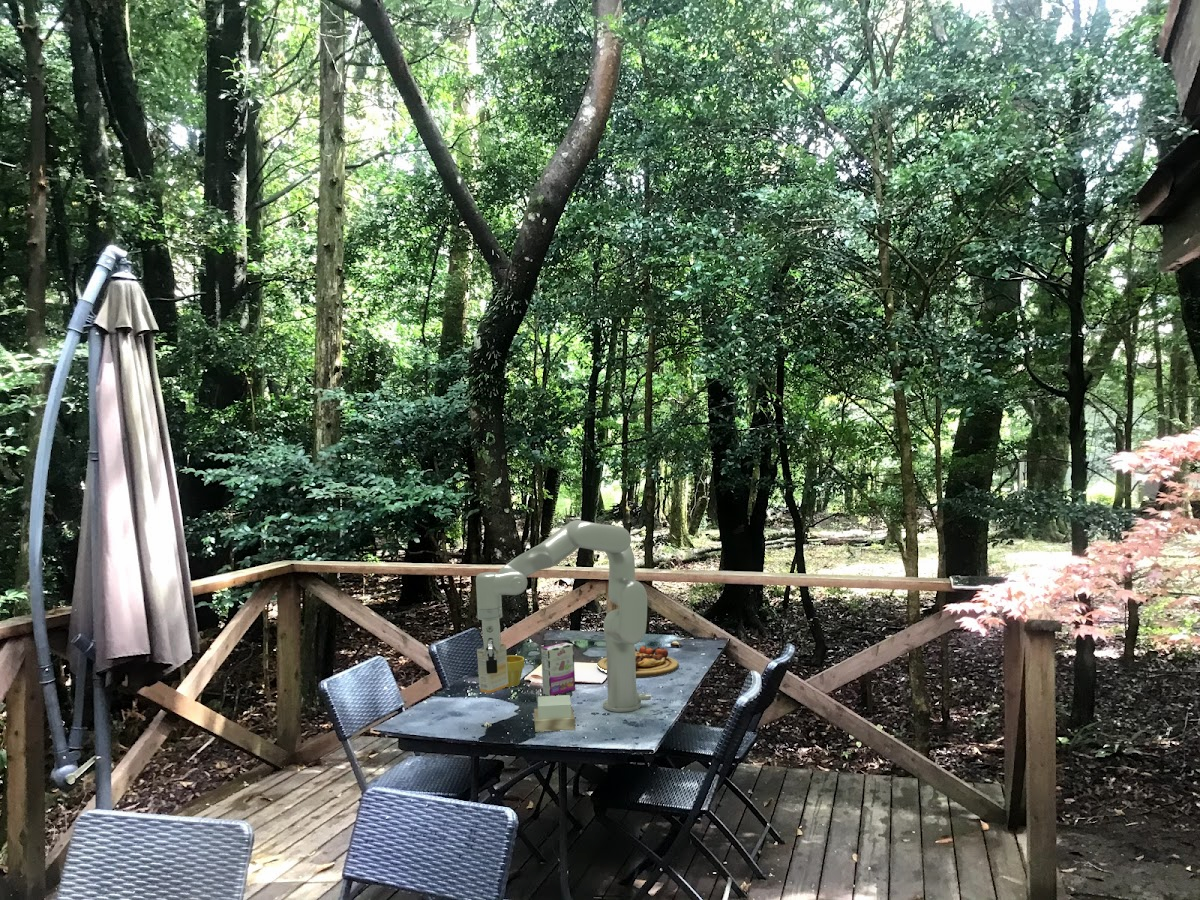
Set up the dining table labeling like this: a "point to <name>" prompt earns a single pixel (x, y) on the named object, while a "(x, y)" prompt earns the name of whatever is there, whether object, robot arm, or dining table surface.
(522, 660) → the plant pot
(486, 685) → the supplement box
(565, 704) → the tower top block
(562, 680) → the candy bar box
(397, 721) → the dining table surface
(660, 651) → the wooden plate with food
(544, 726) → the tower base block
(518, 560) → the robot arm
